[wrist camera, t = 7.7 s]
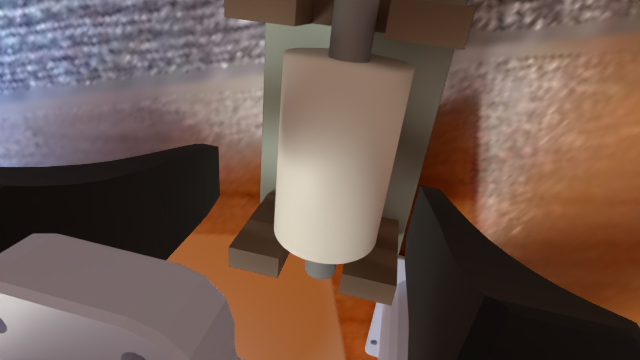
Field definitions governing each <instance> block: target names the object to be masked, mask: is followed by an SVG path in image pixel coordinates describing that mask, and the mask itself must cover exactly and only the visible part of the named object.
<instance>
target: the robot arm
mask: <svg viewBox="0 0 640 360" xmlns="http://www.w3.org/2000/svg"><path fill="white" fill-rule="evenodd" d="M219 196H220V188H219V151H218V147H217V146H212V145H207V144H193V145H187V146H182V147H177V148H173V149H168V150H164V151H159V152H155V153H150V154H145V155H140V156H135V157H130V158H125V159H120V160H114V161H107V162H99V163H91V164H82V165H67V166H51V167H0V360H244V359H242V358H240V357H238V356H237V354H236V351H235V345H234V320H233V317H232V314H231V311H230V309H229V305H228V302H227V299H226V298H225V296H224V295H223V294H222V293H221V292H220V291H219V290H218V289H217V288H216V287H215V286H214V285H213V284H212V283H211V282H210V281H209V279H207V278H206V276H204V275H202V274H200V273H197V272H195V271H193V270H191V269H189V268H187V267H185V266H182V265H180V264H177V263H173V262H169V261H166V260H167V259H168V258H169V256H170V255H171V254H172V253H173V252H174V251H175V250H176V249H177V248H178V246H180V244H181V243H182V242H183V241H184V240H185V239H186V238H187V237H188V236H189V235H190V234H191V233H192V232H193V230H194V229H195V228H196V227H197V226H198V225H199V224H200V223H201V222H202V220H203V219H204V218H205V217H206V216H207V214H208V213H209V212H210V210H211V209H212V207H213V206H214V204H215V202H216V201H217V199H218V198H219ZM365 351H366V353H367V354H369V355H372V356H376V357H378V360H640V327H639V326H638V325H637V323H636V322H633V321H631V320H629V319H627V318H624V317H622V316H620V315H618V314H616V313H613V312H611V311H609V310H607V309H604V308H602V307H600V306H598V305H595V304H593V303H591V302H589V301H587V300H585V299H583V298H581V297H579V296H577V295H575V294H573V293H571V292H569V291H567V290H565V289H563V288H561V287H560V286H558V285H556V284H554V283H552V282H551V281H549V280H547V279H545V278H544V277H542V276H540V275H539V274H537V273H535V272H534V271H532V270H531V269H529V268H527V267H526V266H524V265H523V264H521V263H520V262H518V261H517V260H515V259H514V258H512V257H511V256H510V255H508V254H507V253H506V252H504V251H503V250H502V249H500V248H499V247H498V246H496V245H495V244H494V243H493V242H491V241H490V240H489V239H488V238H487V237H486V236H484V235H483V234H482V233H481V232H480V231H479V230H478V229H477V228H476V227H475V226H474V225H472V224H471V223H470V222H469V221H468V220H467V219H466V218H465V217H464V215H463V214H462V213H461V212H460V211H459V210H458V209H457V208H456V207H455V206H454V205H453V204H452V203H451V201H450V200H449V199H448V198H447V197H446V196H445V195H444V194H443V193H442V192H441V191H440V190H439V189H434V188H429V187H424V186H420V188H419V191H418V195H417V199H416V202H415V206H414V210H413V213H412V217H411V220H410V224H409V228H408V231H407V235H406V246H405V256H401V255H398V265H397V288H396V292H395V295H394V299H393V302H392V306H390V305H386V304H381V303H377V302H376V306H375V310H374V314H373V318H372V322H371V325H370V329H369V333H368V337H367V341H366V345H365Z"/></svg>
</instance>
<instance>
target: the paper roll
mask: <svg viewBox="0 0 640 360" xmlns="http://www.w3.org/2000/svg"><path fill="white" fill-rule="evenodd" d="M379 2H380V0H334V9H333V18H332V27H331V36H330V45H329V48H292V49H287V50H285V51H284V52H283V69H282V87H281V106H280V124H279V143H278V161H277V180H276V198H275V217H274V233H275V236H276V238H277V240H278V241H279V243H280V244H281V245H282V246H283V247H284V248H285V249H287V250H288V251H289V252H291V253H292V254H294V255H296V256H298V257H300V258H303V259H306V260H305V271H306V272H307V274H308V275H310V276H311V277H313V278H316V279H327V278H330V277H332V276H333V275H334V273H335V269H336V264H343V263H349V262H353V261H356V260H359V259H361V258H363V257H364V256H366V255H367V254H369V253H370V252H371V251H372V249H373V248H374V246H375V244H376V239H377V235H378V230H379V226H380V222H381V217H382V213H383V208H384V204H385V199H386V195H387V190H388V186H389V182H390V177H391V173H392V168H393V164H394V159H395V155H396V150H397V146H398V141H399V137H400V133H401V128H402V124H403V119H404V115H405V110H406V106H407V101H408V97H409V92H410V88H411V84H412V79H413V75H414V70H415V67H414V66H413V65H411V64H409V63H406V62H404V61H401V60H397V59H394V58H390V57H385V56H381V55H375V54H371V51H372V45H373V39H374V33H375V27H376V21H377V14H378V8H379Z"/></svg>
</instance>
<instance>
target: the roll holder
mask: <svg viewBox="0 0 640 360" xmlns="http://www.w3.org/2000/svg"><path fill="white" fill-rule="evenodd" d="M466 4H467V0H380V2H379V8H378V14H377V21H376V27H375V33H374V39H373V45H372V51H371V54H375V55H381V56H385V57H390V58H394V59H397V60H401V61H404V62H406V63H409V64H411V65H413V66H414V67H415V70H414V75H413V79H412V84H411V88H410V92H409V97H408V101H407V106H406V110H405V115H404V119H403V124H402V128H401V133H400V137H399V141H398V146H397V150H396V155H395V159H394V164H393V168H392V173H391V177H390V182H389V186H388V190H387V195H386V199H385V204H384V208H383V213H382V217H381V222H380V226H379V230H378V235H377V239H376V244H375V246H374V248H373V249H372V251H371V252H370V253H369V254H367V255H366V256H364V257H363V258H361V259H359V260H356V261H353V262H349V263H344V266H343V271H342V275H341V281H340V286H339V292H338V293H340V294H344V295H348V296H353V297H357V298H361V299H365V300H369V301H373V302H377V303H381V304H386V305H390V306H392V302H393V299H394V295H395V292H396V288H397V265H398V255H399V251H400V247H401V244H402V240H403V236H404V233H405V229H406V225H407V222H408V218H409V214H410V211H411V207H412V203H413V200H414V196H415V192H416V188H417V185H418V181H419V177H420V174H421V170H422V166H423V163H424V159H425V155H426V152H427V148H428V144H429V141H430V137H431V133H432V129H433V126H434V122H435V118H436V115H437V111H438V107H439V104H440V100H441V96H442V93H443V89H444V85H445V81H446V78H447V74H448V70H449V67H450V63H451V59H452V56H453V52H454V48H456V49H463V50H464V49H465V45H466V41H467V38H468V34H469V31H470V27H471V24H472V20H473V17H474V13H475V10H476V7H473V6H466ZM224 7H225V17H228V18H235V19H242V20H250V21H257V22H265V23H266V38H265V68H264V98H263V129H262V159H261V189H260V205H259V206H258V208H257V209H256V210H255V212H254V213H253V215H252V216H251V217H250V219H249V220H248V221H247V223H246V224H245V225H244V227H243V228H242V230H241V231H240V232H239V234H238V235H237V236H236V238H235V239H234V241H233V242H232V244H231V245H230V246H229V266H230V267H233V268H237V269H241V270H246V271H250V272H254V273H258V274H262V275H266V276H270V277H274V278H278V276H279V274H280V271H281V269H282V267H283V265H284V263H285V261H286V259H287V257H288V255H289V251H288V250H287V249H285V248H284V247H283V246H282V245H281V244H280V243H279V241H278V240H277V238H276V236H275V233H274V217H275V198H276V180H277V161H278V143H279V124H280V106H281V87H282V69H283V52H284V51H285V50H287V49H292V48H329V45H330V36H331V27H332V18H333V9H334V0H224Z"/></svg>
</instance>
